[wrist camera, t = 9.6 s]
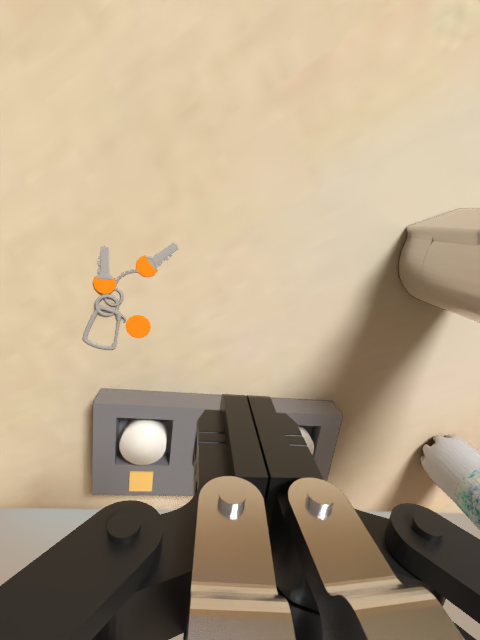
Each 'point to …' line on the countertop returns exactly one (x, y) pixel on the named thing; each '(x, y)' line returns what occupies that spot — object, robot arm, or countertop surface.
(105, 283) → the key chain
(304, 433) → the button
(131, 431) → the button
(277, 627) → the robot arm
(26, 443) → the countertop surface
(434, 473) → the bottle
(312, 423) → the panel
